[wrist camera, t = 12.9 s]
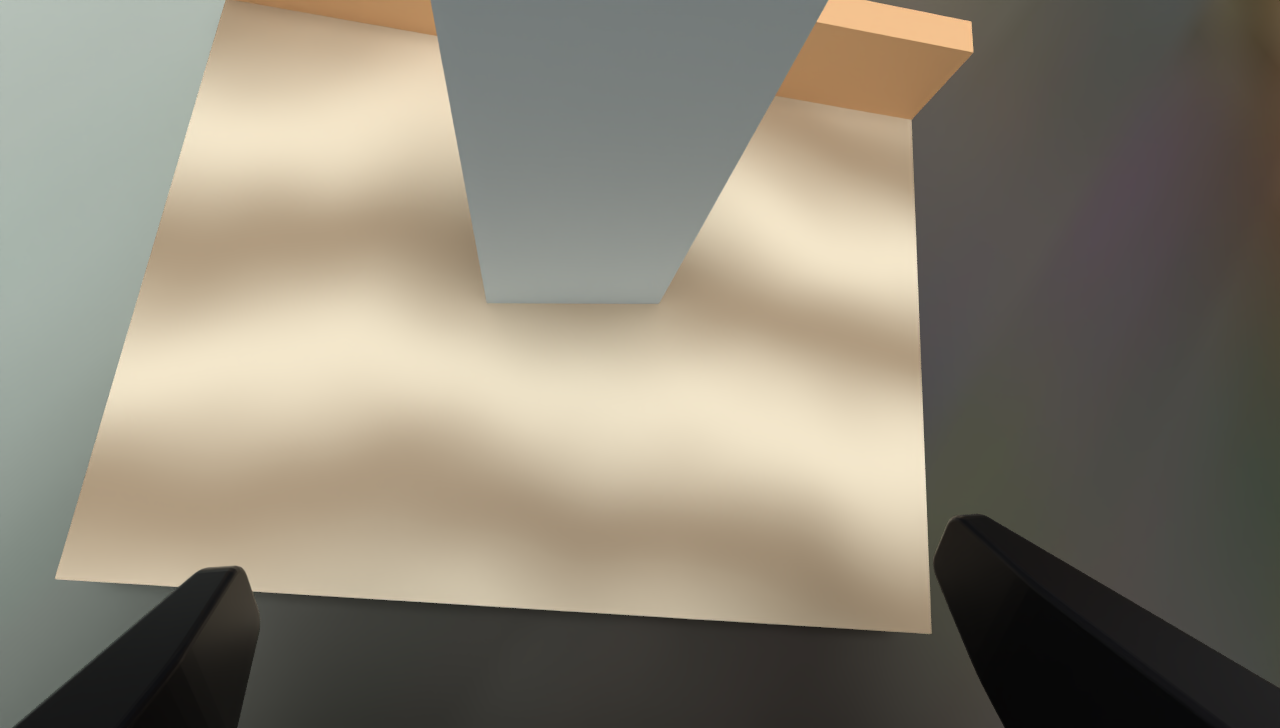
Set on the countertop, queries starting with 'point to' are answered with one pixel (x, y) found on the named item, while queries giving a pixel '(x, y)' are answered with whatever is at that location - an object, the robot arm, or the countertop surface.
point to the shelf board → (508, 369)
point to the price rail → (823, 70)
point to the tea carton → (604, 131)
